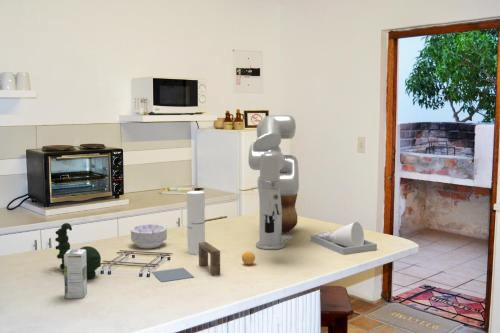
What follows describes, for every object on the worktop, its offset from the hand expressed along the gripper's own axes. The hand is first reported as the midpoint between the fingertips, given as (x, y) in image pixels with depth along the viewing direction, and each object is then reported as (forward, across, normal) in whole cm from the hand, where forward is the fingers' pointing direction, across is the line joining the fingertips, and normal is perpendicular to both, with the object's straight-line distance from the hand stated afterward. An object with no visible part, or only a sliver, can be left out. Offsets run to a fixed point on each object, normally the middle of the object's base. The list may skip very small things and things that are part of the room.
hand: (269, 232), depth 207 cm
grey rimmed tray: (+11, +9, -40) cm, 43 cm away
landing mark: (+12, +1, +38) cm, 40 cm away
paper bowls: (+11, +44, +36) cm, 58 cm away
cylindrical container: (+12, +26, +20) cm, 35 cm away
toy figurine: (+12, +16, +68) cm, 71 cm away
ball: (+9, +1, +9) cm, 13 cm away
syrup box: (+13, -6, +72) cm, 74 cm away
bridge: (+12, +1, +24) cm, 27 cm away
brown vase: (+11, +42, -30) cm, 52 cm away
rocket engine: (+11, +9, -40) cm, 43 cm away
